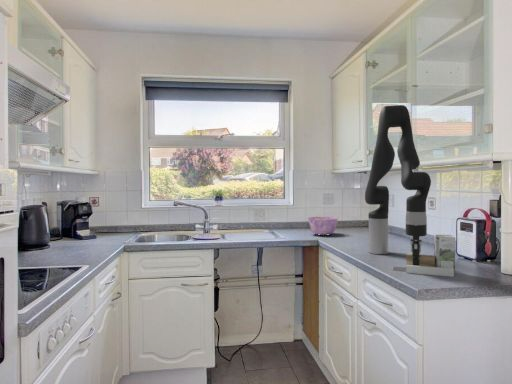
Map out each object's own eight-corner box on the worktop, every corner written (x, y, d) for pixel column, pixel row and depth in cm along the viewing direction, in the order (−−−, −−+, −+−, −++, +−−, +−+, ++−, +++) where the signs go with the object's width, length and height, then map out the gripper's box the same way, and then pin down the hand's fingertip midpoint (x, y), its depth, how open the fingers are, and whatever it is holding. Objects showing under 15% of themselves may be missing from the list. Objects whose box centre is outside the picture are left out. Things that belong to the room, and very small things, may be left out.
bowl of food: (306, 236, 239) (305, 219, 239) (310, 232, 258) (310, 216, 258) (336, 237, 233) (336, 219, 233) (339, 233, 252) (338, 216, 252)
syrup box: (449, 271, 140) (449, 234, 140) (455, 275, 135) (455, 236, 134) (433, 271, 141) (433, 234, 141) (439, 274, 136) (439, 236, 135)
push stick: (406, 268, 145) (406, 253, 145) (434, 270, 141) (434, 255, 140) (406, 270, 142) (406, 255, 142) (434, 272, 138) (434, 257, 138)
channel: (394, 266, 151) (394, 259, 151) (451, 270, 142) (451, 262, 142) (392, 272, 141) (392, 264, 141) (453, 277, 132) (453, 269, 132)
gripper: (406, 221, 149) (406, 262, 150) (404, 224, 137) (404, 270, 137) (426, 221, 146) (426, 264, 147) (426, 225, 134) (426, 271, 134)
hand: (416, 266), depth 142 cm, fingers closed on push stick, 3 cm apart
